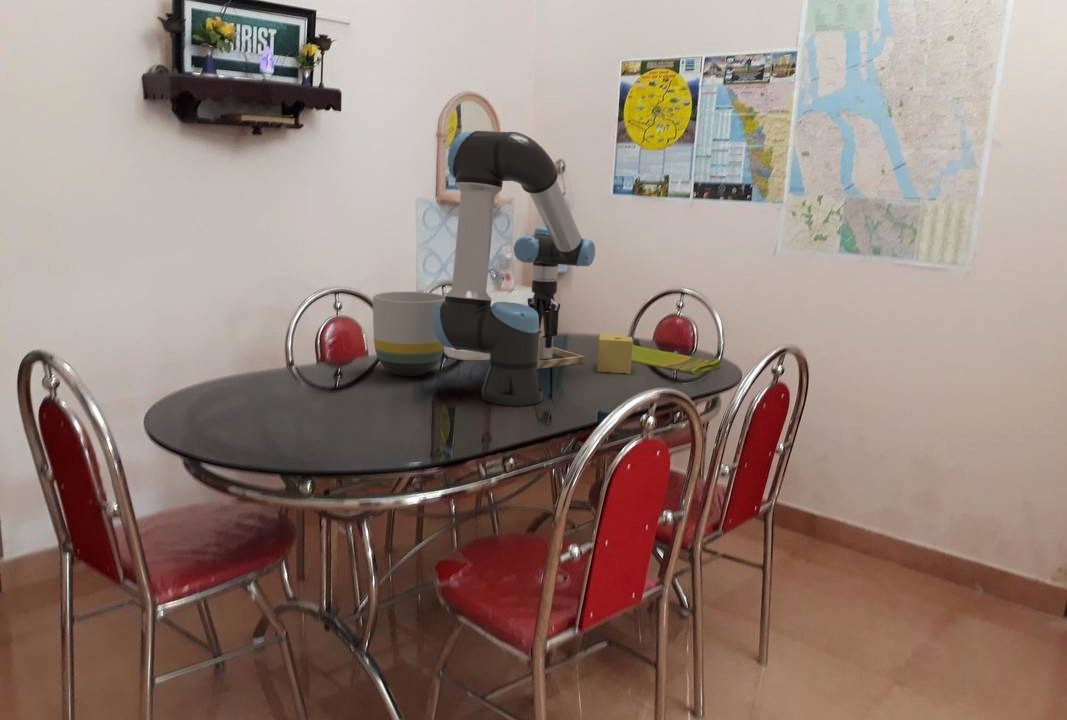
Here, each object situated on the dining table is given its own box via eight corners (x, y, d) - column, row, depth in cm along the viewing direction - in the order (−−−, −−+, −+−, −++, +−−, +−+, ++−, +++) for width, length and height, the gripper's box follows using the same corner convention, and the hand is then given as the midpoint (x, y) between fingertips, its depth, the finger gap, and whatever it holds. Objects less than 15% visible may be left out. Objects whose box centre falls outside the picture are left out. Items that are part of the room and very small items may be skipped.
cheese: (631, 367, 249) (633, 334, 247) (631, 375, 239) (633, 340, 237) (596, 364, 250) (598, 332, 248) (595, 372, 240) (597, 338, 238)
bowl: (463, 362, 245) (463, 353, 245) (436, 352, 258) (436, 343, 257) (508, 357, 254) (508, 348, 254) (480, 347, 267) (480, 339, 266)
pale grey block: (537, 359, 251) (538, 336, 249) (529, 356, 254) (530, 334, 253) (552, 358, 254) (553, 335, 252) (543, 355, 257) (544, 333, 256)
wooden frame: (536, 368, 241) (536, 362, 241) (498, 355, 257) (498, 349, 257) (584, 363, 252) (585, 356, 251) (545, 350, 267) (545, 344, 267)
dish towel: (695, 376, 243) (696, 366, 242) (596, 356, 265) (597, 346, 264) (721, 369, 254) (722, 359, 253) (624, 350, 277) (625, 340, 276)
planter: (423, 363, 242) (424, 290, 237) (458, 378, 226) (460, 299, 222) (360, 370, 230) (360, 293, 226) (393, 385, 215) (393, 303, 210)
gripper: (572, 283, 244) (568, 361, 249) (537, 276, 258) (533, 350, 263) (552, 283, 240) (548, 363, 245) (517, 276, 254) (514, 352, 259)
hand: (540, 356), depth 254 cm, fingers closed on pale grey block, 4 cm apart
